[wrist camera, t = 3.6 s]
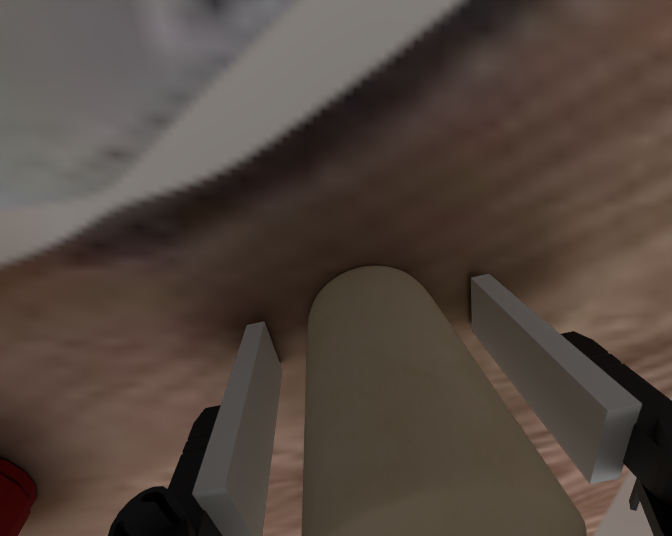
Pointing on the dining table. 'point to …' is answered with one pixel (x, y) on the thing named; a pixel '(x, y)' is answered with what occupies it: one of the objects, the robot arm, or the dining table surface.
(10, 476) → the plastic cup
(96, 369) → the dining table surface
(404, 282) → the candle
